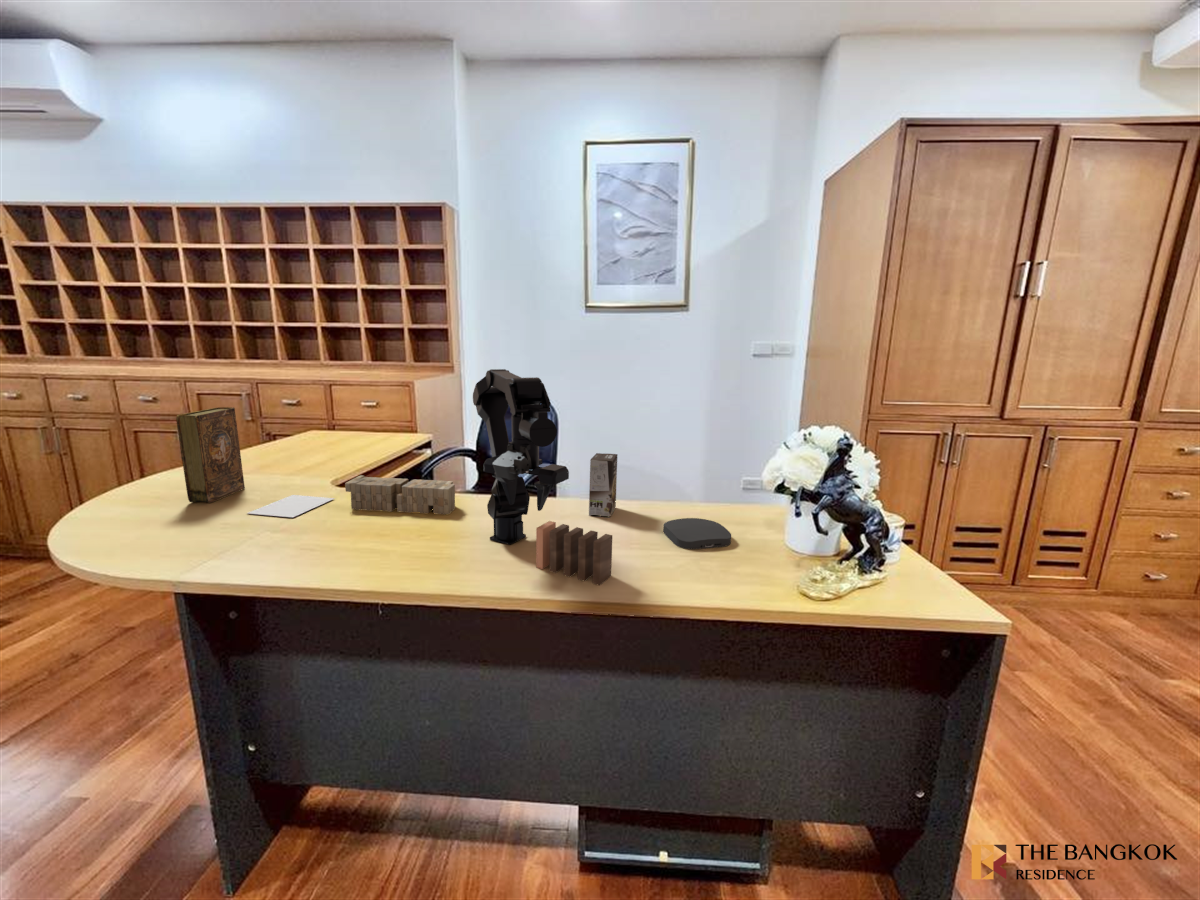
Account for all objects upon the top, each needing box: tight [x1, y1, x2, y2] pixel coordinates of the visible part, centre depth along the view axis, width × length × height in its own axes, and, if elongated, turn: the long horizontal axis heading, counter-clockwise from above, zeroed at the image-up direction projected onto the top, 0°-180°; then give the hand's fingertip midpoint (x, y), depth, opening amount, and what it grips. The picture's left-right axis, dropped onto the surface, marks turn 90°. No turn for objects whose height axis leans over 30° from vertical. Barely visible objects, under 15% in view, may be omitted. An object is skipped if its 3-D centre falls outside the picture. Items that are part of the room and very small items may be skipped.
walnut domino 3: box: [577, 530, 599, 582], centre depth 108 cm, size 2×5×9 cm, turn 151°
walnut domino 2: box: [563, 526, 584, 578], centre depth 110 cm, size 2×5×9 cm, turn 151°
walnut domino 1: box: [549, 523, 570, 574], centre depth 111 cm, size 2×5×9 cm, turn 151°
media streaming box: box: [662, 517, 732, 550], centre depth 131 cm, size 15×15×3 cm
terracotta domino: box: [535, 520, 557, 570], centre depth 113 cm, size 2×5×9 cm, turn 152°
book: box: [175, 406, 246, 504], centre depth 151 cm, size 16×6×25 cm, turn 179°
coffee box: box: [588, 452, 618, 517], centre depth 147 cm, size 9×6×16 cm
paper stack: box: [247, 494, 336, 518], centre depth 141 cm, size 23×25×1 cm
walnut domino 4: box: [592, 533, 613, 586], centre depth 106 cm, size 2×5×9 cm, turn 151°
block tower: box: [344, 474, 456, 515], centre depth 147 cm, size 8×8×29 cm
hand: (525, 507), depth 114 cm, fingers open, 7 cm apart
